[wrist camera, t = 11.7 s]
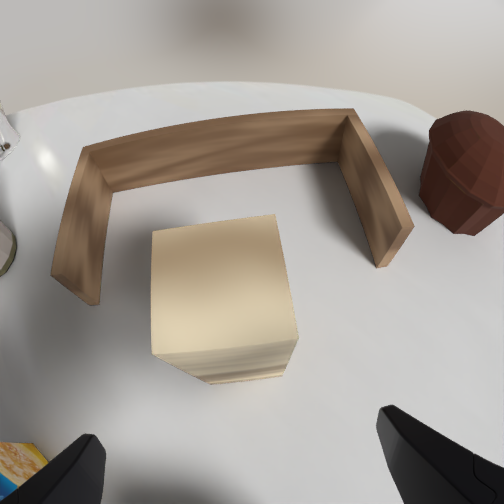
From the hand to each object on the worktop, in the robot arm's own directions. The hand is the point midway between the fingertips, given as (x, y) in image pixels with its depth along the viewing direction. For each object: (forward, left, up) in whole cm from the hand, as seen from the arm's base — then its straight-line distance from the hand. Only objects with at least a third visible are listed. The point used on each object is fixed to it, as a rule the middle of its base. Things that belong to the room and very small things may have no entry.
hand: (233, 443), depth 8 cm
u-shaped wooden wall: (+16, -2, -13) cm, 21 cm away
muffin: (+12, -25, -13) cm, 31 cm away
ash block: (+6, -1, -13) cm, 14 cm away
